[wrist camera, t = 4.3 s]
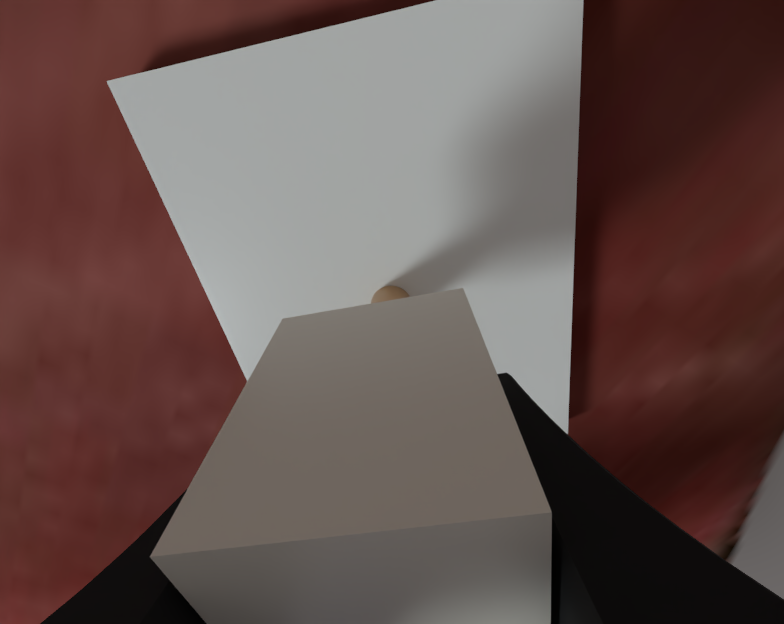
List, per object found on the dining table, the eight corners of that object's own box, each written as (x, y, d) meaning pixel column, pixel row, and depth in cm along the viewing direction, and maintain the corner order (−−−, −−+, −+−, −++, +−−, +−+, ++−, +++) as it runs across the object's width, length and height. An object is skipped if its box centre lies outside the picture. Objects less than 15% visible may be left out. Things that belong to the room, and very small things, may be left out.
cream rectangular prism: (478, 425, 11) (550, 690, 6) (330, 446, 12) (278, 708, 6) (463, 287, 9) (551, 511, 4) (282, 318, 10) (149, 556, 4)
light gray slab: (557, 424, 19) (613, 529, 14) (298, 459, 21) (267, 566, 16) (566, -22, 11) (702, -131, 6) (131, 84, 12) (-41, 63, 7)
